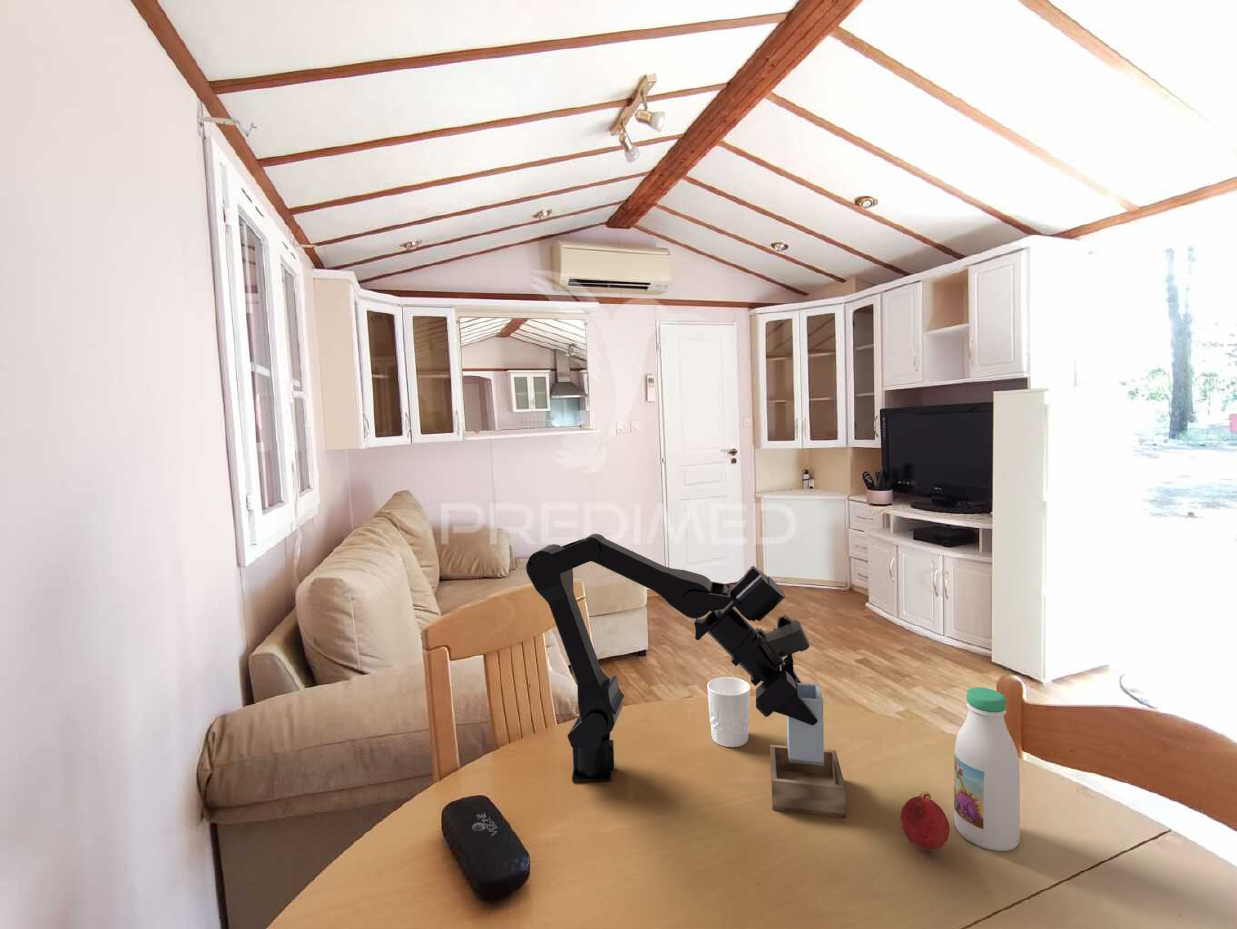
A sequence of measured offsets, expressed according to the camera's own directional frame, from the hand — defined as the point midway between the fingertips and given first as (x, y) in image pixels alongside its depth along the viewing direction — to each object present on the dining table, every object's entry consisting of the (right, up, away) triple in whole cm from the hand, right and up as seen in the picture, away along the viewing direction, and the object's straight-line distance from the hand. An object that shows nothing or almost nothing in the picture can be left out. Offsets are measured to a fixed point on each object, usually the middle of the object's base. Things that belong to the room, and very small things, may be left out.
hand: (813, 713), depth 91 cm
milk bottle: (+21, -13, -10) cm, 26 cm away
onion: (+11, -13, -12) cm, 21 cm away
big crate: (-1, -13, +1) cm, 13 cm away
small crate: (-1, -7, +1) cm, 7 cm away
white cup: (-10, -13, +18) cm, 24 cm away
